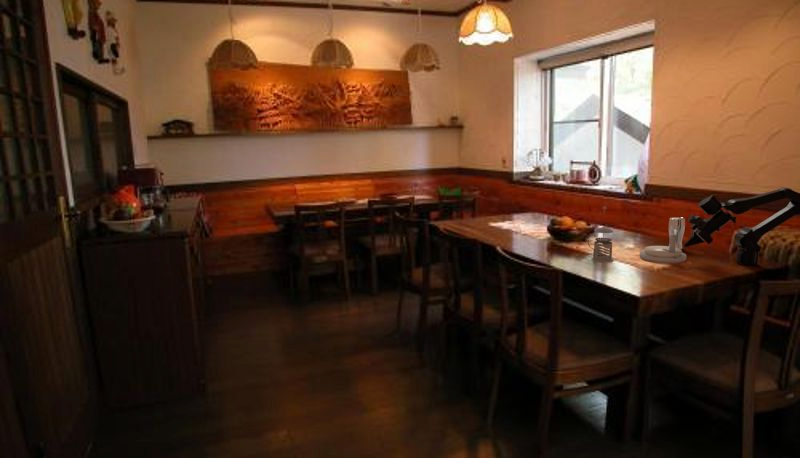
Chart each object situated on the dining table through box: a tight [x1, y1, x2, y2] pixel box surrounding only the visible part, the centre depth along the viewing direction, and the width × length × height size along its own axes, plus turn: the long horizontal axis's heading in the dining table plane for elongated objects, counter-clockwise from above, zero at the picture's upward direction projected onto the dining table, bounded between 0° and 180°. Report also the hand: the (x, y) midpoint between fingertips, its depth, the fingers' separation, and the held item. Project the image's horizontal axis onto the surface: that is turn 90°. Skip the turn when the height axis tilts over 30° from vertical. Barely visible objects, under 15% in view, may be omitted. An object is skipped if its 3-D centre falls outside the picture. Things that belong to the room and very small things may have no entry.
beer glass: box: [668, 216, 686, 250], centre depth 241 cm, size 7×7×15 cm
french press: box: [587, 206, 615, 263], centre depth 224 cm, size 10×12×25 cm
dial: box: [644, 234, 683, 257], centre depth 223 cm, size 15×15×10 cm
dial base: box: [639, 249, 687, 264], centre depth 224 cm, size 19×19×2 cm
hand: (684, 246), depth 216 cm, fingers closed
